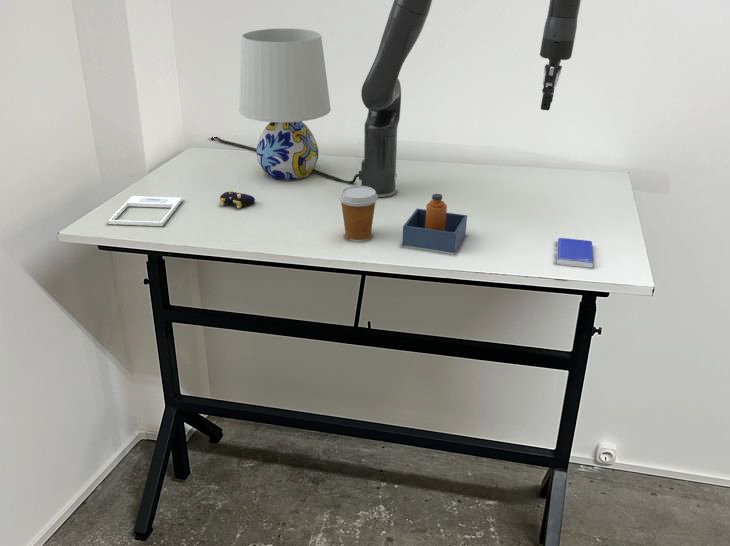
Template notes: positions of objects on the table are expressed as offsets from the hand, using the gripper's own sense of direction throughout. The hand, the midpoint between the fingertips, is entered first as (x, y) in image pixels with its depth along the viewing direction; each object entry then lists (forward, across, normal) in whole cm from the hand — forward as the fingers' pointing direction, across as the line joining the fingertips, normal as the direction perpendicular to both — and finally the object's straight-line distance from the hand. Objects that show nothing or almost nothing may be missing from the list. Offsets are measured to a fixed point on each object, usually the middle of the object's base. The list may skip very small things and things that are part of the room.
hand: (546, 106), depth 180 cm
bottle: (+30, +25, -20) cm, 44 cm away
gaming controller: (+32, +17, -79) cm, 87 cm away
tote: (+30, +25, -20) cm, 44 cm away
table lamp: (+31, -12, -75) cm, 82 cm away
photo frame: (+33, +30, -100) cm, 109 cm away
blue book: (+29, +23, +14) cm, 40 cm away
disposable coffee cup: (+31, +28, -40) cm, 58 cm away
